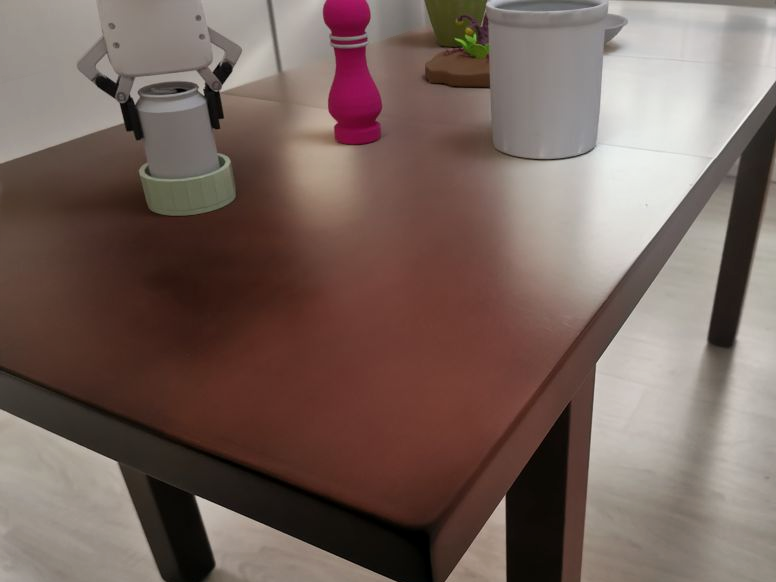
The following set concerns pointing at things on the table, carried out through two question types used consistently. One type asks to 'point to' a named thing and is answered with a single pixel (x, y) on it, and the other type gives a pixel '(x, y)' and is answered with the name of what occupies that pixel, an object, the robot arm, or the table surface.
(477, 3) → the flower pot
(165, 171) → the can
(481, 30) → the plant
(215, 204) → the ramekin
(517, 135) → the utensil holder
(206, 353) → the table surface
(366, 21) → the pepper mill
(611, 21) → the dish
